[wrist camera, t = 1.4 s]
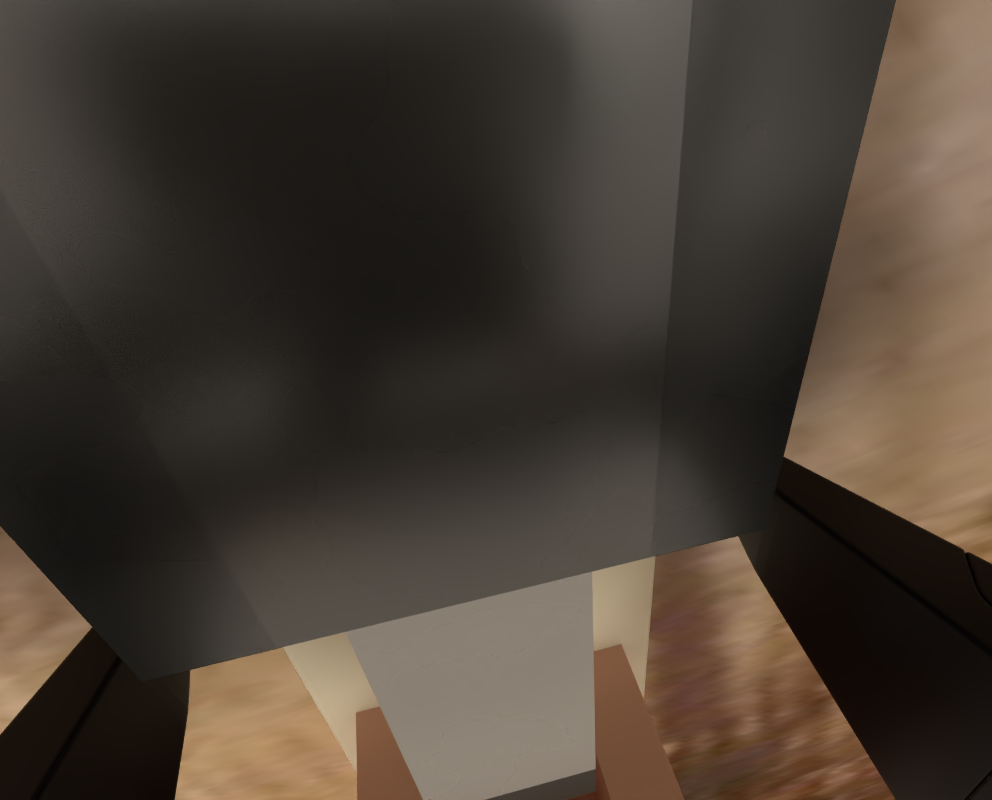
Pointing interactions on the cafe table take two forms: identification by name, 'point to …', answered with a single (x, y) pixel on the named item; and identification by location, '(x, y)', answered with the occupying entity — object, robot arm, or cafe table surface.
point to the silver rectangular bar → (491, 693)
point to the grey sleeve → (403, 295)
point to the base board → (347, 691)
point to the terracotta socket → (618, 744)
